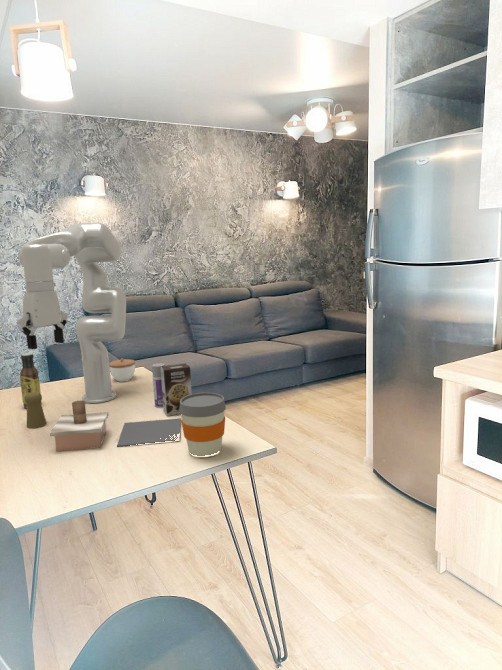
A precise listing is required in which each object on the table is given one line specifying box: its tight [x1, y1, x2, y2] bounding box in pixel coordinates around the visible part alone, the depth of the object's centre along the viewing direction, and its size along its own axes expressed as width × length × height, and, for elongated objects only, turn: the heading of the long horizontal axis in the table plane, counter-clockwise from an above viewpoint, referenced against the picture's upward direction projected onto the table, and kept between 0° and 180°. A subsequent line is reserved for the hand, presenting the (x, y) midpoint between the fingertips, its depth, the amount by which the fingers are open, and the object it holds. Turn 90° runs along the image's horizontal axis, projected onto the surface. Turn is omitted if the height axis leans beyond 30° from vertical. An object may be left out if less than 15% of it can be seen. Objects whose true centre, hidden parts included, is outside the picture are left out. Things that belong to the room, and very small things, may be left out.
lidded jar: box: [109, 358, 136, 383], centre depth 209 cm, size 11×11×9 cm
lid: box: [49, 400, 110, 437], centre depth 144 cm, size 14×14×7 cm
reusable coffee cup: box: [180, 392, 227, 456], centre depth 134 cm, size 13×13×15 cm
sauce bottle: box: [19, 352, 42, 409], centre depth 177 cm, size 6×6×20 cm
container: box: [151, 362, 166, 409], centre depth 173 cm, size 5×5×15 cm
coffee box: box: [161, 363, 193, 417], centre depth 166 cm, size 9×6×16 cm
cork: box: [24, 392, 47, 429], centre depth 159 cm, size 6×6×11 cm
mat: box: [116, 417, 182, 448], centre depth 150 cm, size 18×18×1 cm
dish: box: [54, 422, 107, 452], centre depth 145 cm, size 12×12×5 cm
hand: (46, 345), depth 144 cm, fingers open, 9 cm apart
